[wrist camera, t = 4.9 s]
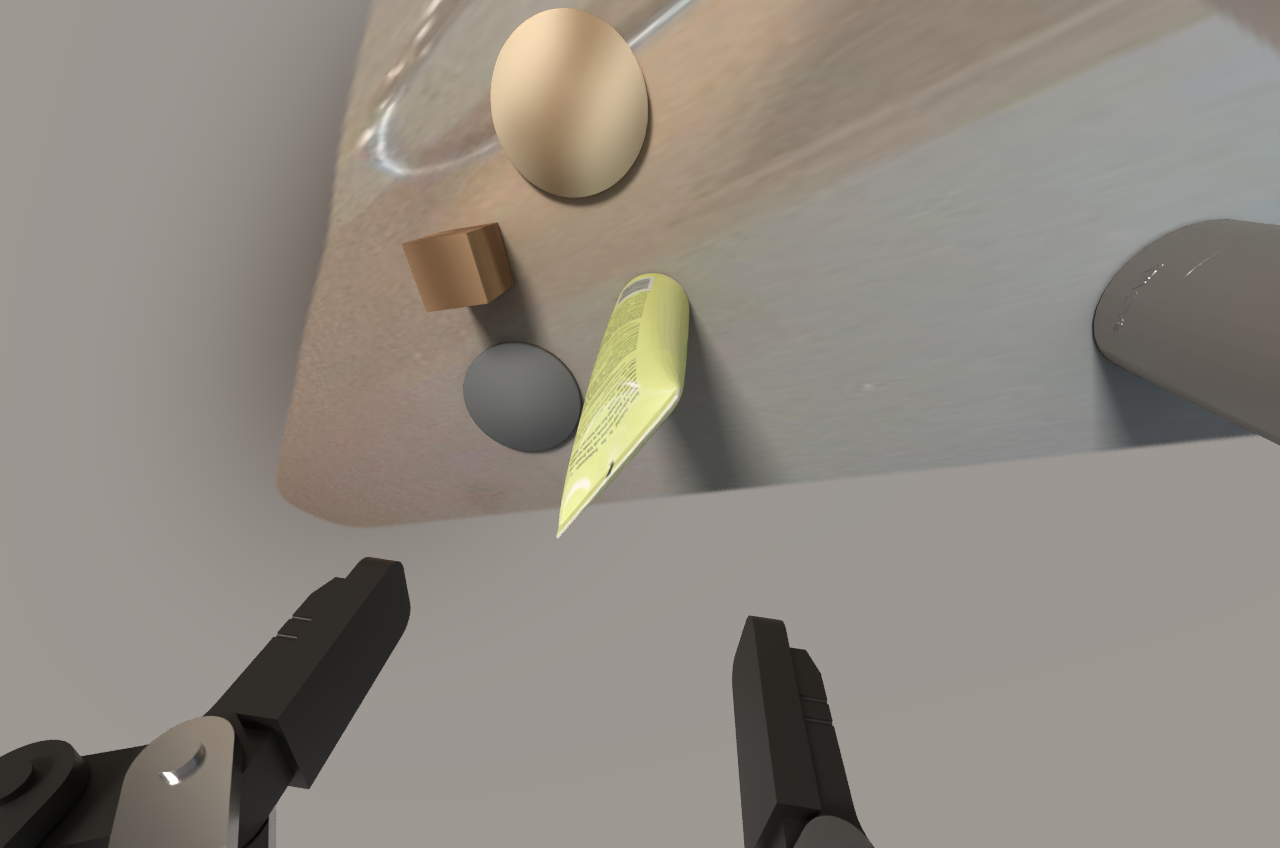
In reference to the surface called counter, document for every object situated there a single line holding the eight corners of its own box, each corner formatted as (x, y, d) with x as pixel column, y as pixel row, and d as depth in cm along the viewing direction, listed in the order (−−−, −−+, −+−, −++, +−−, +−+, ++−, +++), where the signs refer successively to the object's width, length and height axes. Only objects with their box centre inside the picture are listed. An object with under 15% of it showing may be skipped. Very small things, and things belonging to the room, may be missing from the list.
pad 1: (657, 21, 26) (656, 17, 25) (639, 205, 30) (638, 206, 30) (491, 2, 26) (486, -2, 25) (497, 187, 30) (493, 188, 30)
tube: (692, 349, 34) (691, 539, 17) (622, 354, 35) (554, 542, 18) (687, 267, 32) (680, 396, 15) (611, 274, 32) (519, 405, 15)
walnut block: (497, 222, 31) (466, 233, 27) (514, 284, 33) (488, 303, 29) (441, 231, 32) (401, 243, 28) (460, 292, 34) (426, 312, 30)
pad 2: (583, 350, 35) (582, 353, 35) (578, 454, 40) (577, 458, 39) (462, 334, 35) (458, 336, 35) (470, 439, 40) (467, 442, 39)
